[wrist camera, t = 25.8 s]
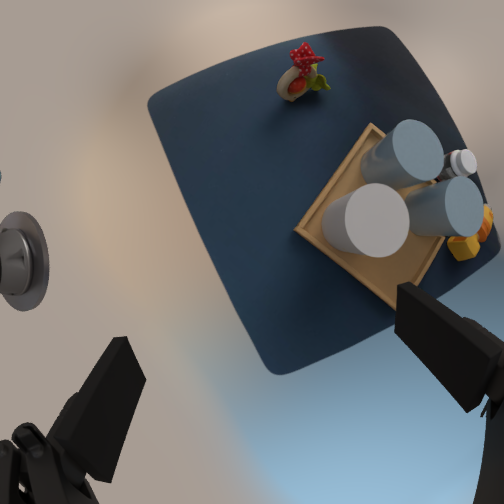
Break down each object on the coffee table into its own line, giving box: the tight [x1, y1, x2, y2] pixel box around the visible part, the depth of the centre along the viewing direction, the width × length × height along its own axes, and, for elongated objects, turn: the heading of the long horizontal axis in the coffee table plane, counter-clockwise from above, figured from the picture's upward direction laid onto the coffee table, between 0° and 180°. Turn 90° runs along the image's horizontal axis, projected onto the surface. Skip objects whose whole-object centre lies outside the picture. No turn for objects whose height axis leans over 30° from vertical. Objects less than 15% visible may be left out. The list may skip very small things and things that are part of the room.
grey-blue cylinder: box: [404, 176, 484, 237], centre depth 33 cm, size 8×8×12 cm
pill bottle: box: [437, 149, 477, 181], centre depth 35 cm, size 5×5×8 cm
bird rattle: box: [277, 42, 331, 102], centre depth 35 cm, size 6×11×9 cm
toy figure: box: [447, 204, 493, 261], centre depth 36 cm, size 5×6×12 cm
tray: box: [294, 123, 445, 311], centre depth 39 cm, size 22×22×2 cm
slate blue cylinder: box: [361, 120, 444, 192], centre depth 33 cm, size 8×8×12 cm
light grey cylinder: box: [322, 183, 409, 257], centre depth 34 cm, size 8×8×12 cm
